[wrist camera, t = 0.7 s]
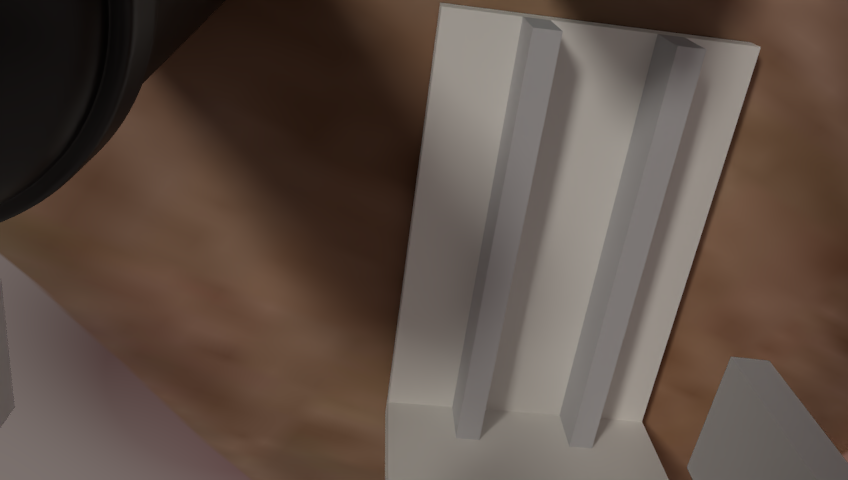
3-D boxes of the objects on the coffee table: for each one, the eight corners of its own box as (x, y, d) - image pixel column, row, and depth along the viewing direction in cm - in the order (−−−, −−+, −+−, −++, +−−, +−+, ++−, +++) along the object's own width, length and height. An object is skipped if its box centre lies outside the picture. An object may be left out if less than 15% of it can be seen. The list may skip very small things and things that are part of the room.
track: (440, 2, 32) (457, 45, 24) (751, 42, 34) (865, 96, 26) (385, 412, 42) (384, 541, 34) (630, 430, 43) (685, 559, 35)
